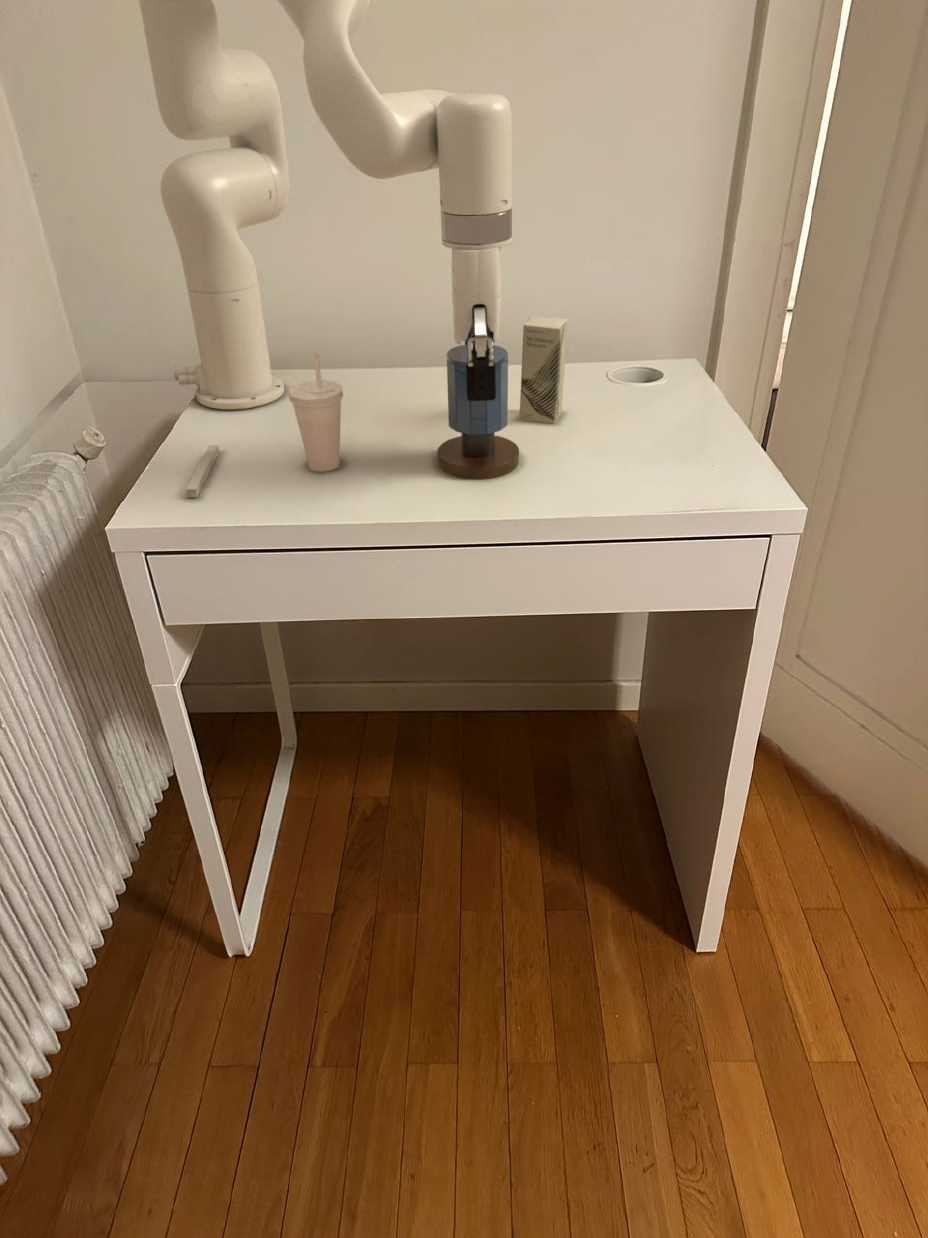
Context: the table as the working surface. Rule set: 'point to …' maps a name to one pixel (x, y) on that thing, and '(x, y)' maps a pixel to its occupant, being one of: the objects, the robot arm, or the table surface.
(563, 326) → the box
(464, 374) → the blue cylinder
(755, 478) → the table surface
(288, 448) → the table surface
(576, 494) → the table surface
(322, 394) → the smoothie
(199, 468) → the grey long thin bar
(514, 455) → the disc
